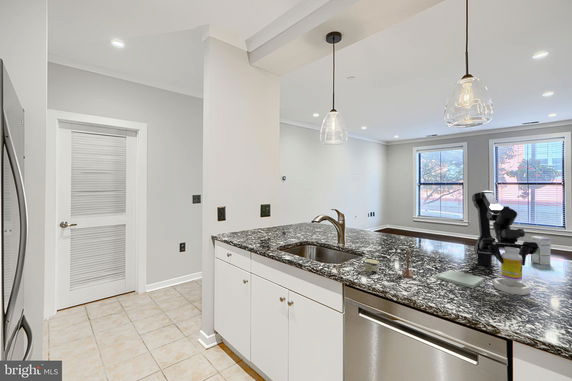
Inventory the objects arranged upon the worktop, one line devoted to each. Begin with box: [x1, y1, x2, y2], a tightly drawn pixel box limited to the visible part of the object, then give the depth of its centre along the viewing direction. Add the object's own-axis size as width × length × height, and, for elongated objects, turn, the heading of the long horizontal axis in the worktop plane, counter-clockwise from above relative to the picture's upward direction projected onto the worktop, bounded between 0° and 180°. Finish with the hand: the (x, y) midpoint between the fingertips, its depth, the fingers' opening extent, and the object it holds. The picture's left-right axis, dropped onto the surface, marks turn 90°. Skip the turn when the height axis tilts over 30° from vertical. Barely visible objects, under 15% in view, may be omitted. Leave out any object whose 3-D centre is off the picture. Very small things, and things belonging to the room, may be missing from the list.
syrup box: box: [530, 235, 552, 266], centre depth 143 cm, size 6×6×14 cm
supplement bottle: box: [500, 247, 523, 282], centre depth 107 cm, size 7×7×13 cm
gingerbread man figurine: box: [402, 249, 414, 280], centre depth 123 cm, size 9×4×12 cm, turn 159°
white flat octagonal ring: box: [492, 277, 531, 296], centre depth 107 cm, size 11×11×2 cm
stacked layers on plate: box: [363, 258, 380, 273], centre depth 128 cm, size 10×9×6 cm
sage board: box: [436, 269, 485, 289], centre depth 118 cm, size 14×14×1 cm
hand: (512, 264), depth 106 cm, fingers closed on supplement bottle, 7 cm apart
